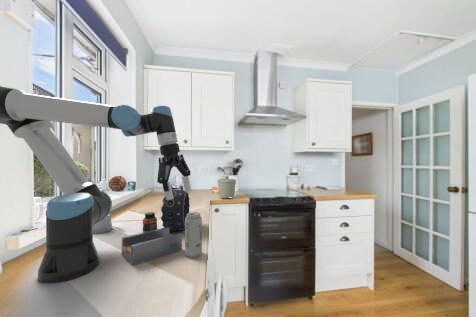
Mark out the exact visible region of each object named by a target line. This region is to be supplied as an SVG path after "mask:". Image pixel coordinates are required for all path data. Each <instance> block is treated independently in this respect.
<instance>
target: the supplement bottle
mask: <svg viewBox="0 0 476 317" xmlns="http://www.w3.org/2000/svg"><path fill="white" fill-rule="evenodd" d="M155 214H156V213H155V212H154V211H149V212H145V213H144V218H143V219H142V233H143V232H148V231H152V230H157V229H158V218H157V217H156V215H155Z"/></svg>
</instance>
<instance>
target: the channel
mask: <svg viewBox="0 0 476 317" xmlns="http://www.w3.org/2000/svg"><path fill="white" fill-rule="evenodd" d="M182 250H183V234H182V233H181V232H178V233H173V234H170V230H169V227H165V228H164V227H161V228H157V230H152V231H148V232H143V231H142V232H139V233H135V234H130V235H126V236H123V237H122V236H121V255H122V257H124V258H125V260H127V262H128V263H129V264H130V265H131V266H136V265H138V264H142V263H145V262H148V261H151V260H154V259H158V258H160V257H163V256H167V255H169V254H174V253H177V252H178V251H182Z"/></svg>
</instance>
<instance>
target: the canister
mask: <svg viewBox="0 0 476 317" xmlns="http://www.w3.org/2000/svg"><path fill="white" fill-rule="evenodd" d="M216 181H217V187H218V188H217V189H218V197H219V198H220V197H221V198H220V199H222V198H229V197H233V198H234V197H235V191H236V183H237V180H236V179H235V178H229V175H225V176H224V178H219V179H217V180H216Z"/></svg>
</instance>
